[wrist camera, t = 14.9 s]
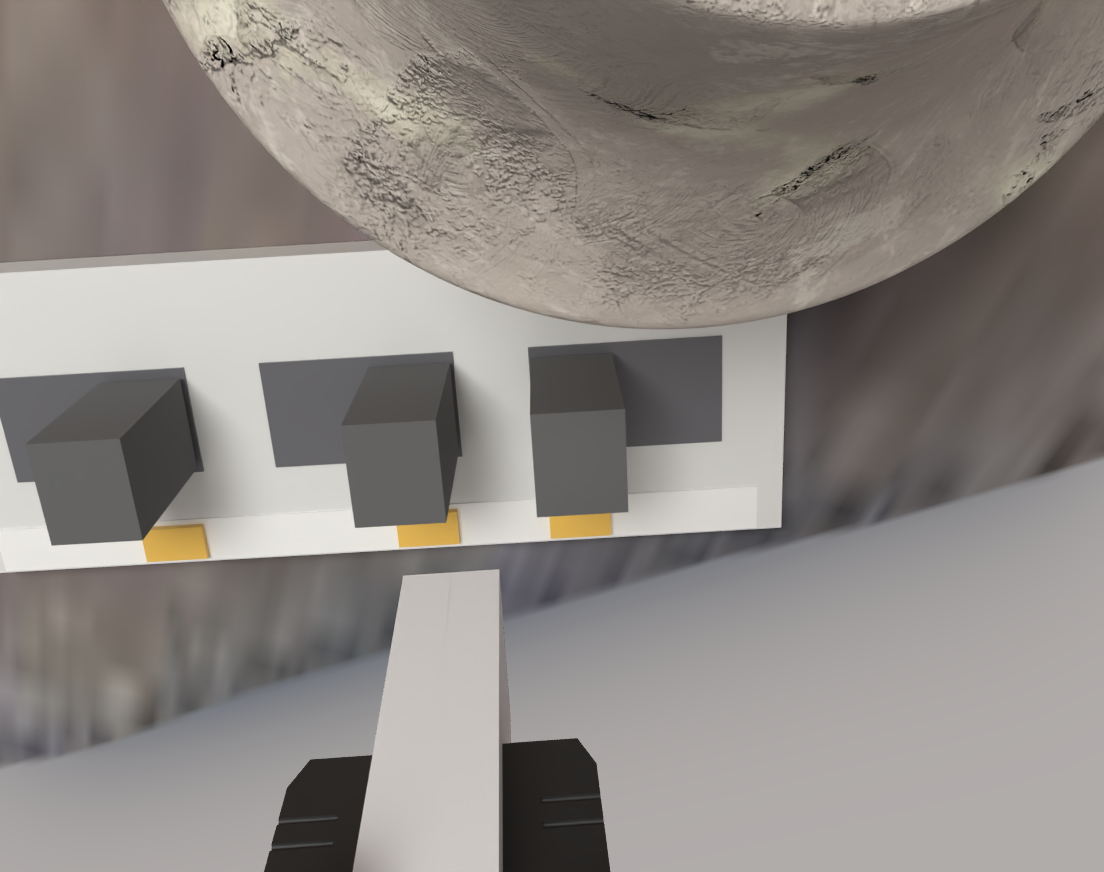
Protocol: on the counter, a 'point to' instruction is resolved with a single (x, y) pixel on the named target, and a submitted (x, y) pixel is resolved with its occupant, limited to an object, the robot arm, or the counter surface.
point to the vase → (659, 136)
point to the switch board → (331, 384)
